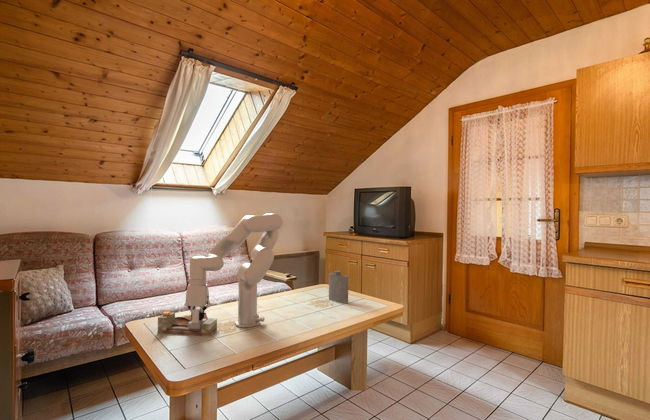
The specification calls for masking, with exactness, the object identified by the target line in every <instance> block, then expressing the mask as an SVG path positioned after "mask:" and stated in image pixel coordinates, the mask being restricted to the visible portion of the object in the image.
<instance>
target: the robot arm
mask: <svg viewBox="0 0 650 420" xmlns="http://www.w3.org/2000/svg"><path fill="white" fill-rule="evenodd" d="M283 224H284V219H283V217H282V216H281V215H280V214H277V213H269V212H268V213H264V214H262V215H250V214H248V215H245V216H244V217H242V218H241V219H240V220H239V222H238V223H237V224H235V226H234V227H233V229H231V230H230V232H229V233H228V234H227V235H226V236H225V237H223V238H222V239H221V240H220V241H218V243H216V244H215V246H213V247H212V249H210V251H209V252H208V253H207V254H206V255H205V256H204V255H195V256H191V257H190V258H189V277H188V278H187V280H186V282H187V283H188V285H187V287H186V293H185V303H184V306H185V307H186V308H187V309H188V310H189V312H190V313H191V314H190V315H191V318H192V310H193V309H195V308H197V307H200V313H199V321H201V320H202V319H203V318H204V313H205V311H206V310H207V309H208V308H211V306H212V304H211V301H210V293H209V292H210V291H209V290H210V289H209V285H208V284H207V272H218V271H220V270H222V268H223V267H224V264H225V263H224V259H223V258H224V257H226V255H228V253H230V252H231V251H233V250H236V249H238V248H239V247H240V246H242V245H243V243H244V242H245V241H246V240H247V239H248V238H249V236H251V234H252V233H262V235H261V236H260V238H259V240H258V241H257V243H256V244H255V246H254V247H253V249H252V250H251V252H250V258H251V262H244V263H242V264H241V265H239V268H238V269H237V284H238V287H237V288H238V292H237V293H238V302H237V303H238V307H237V311H238V312H237V313H238V314H237V315H238V317H237V319H236V320H235V321H234V325H235V326H236V327H238V328H252V327H255V326H256V327H257V326H258V325H259V324H260V323H261V322H263V323H264V322H265V317H264V316H260V315H259V313H258V284H260V282H262V281H263V279H264V277H265V275H266V274H267V273H268V271H269V269H270V268H271V266H272V265H273V262H274V259H275V254H274V251H273V249H274V247H275V245H276V243H277V242H278V239H279V238H278V237H279V229H281V228H282V226H283Z"/></svg>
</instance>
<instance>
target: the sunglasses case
mask: <svg viewBox="0 0 650 420" xmlns="http://www.w3.org/2000/svg"><path fill="white" fill-rule="evenodd" d="M203 319H207V320H208V319H209V318H208V316H207V312H204V318H203ZM191 321H192V318H191V314H190V315H185V316H175V324H188V323H189V322H191Z"/></svg>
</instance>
